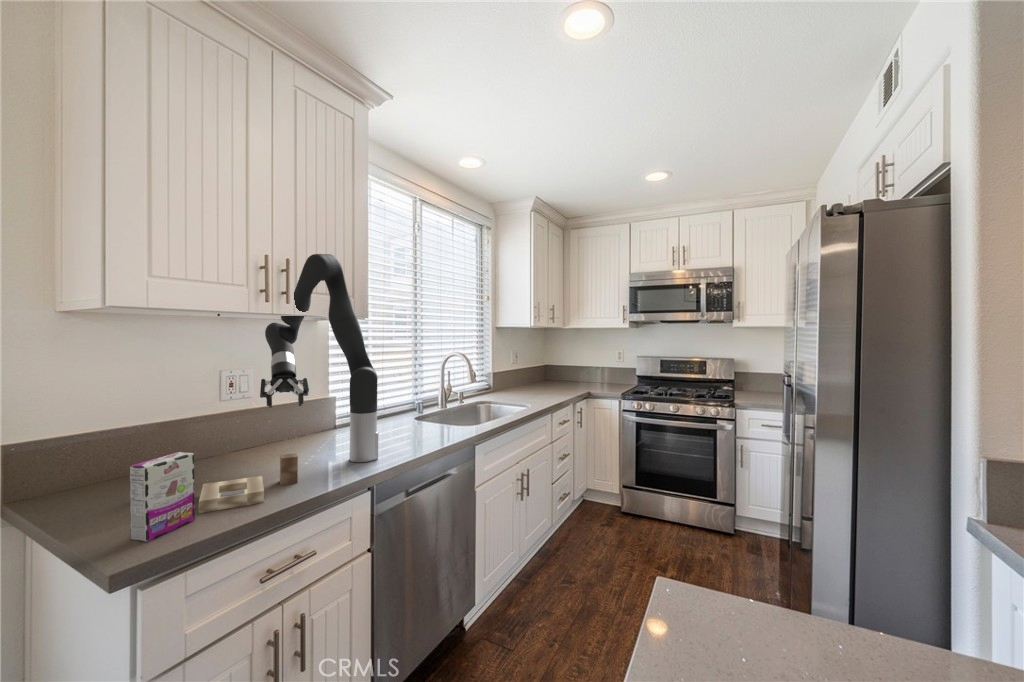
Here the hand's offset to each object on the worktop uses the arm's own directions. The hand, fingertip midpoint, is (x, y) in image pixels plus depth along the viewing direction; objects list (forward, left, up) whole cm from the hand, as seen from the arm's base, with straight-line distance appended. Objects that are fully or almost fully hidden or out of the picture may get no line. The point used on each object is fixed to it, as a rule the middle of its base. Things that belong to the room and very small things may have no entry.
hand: (285, 405), depth 138 cm
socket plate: (+14, +18, -22) cm, 32 cm away
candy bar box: (+27, +32, -22) cm, 47 cm away
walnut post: (0, +11, -22) cm, 24 cm away
